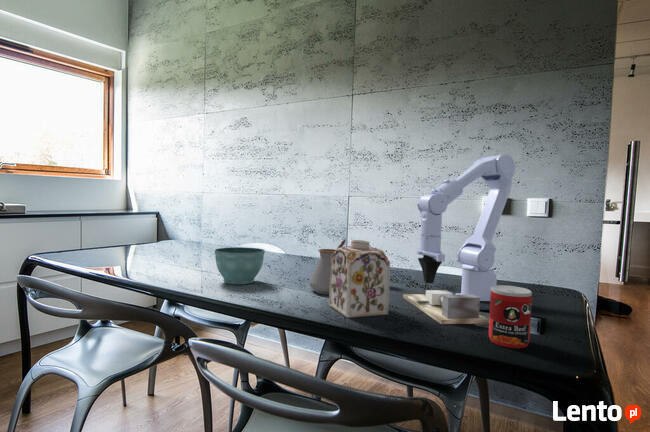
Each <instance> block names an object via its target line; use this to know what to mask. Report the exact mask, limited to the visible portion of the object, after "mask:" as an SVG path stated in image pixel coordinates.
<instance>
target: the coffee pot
mask: <svg viewBox="0 0 650 432" xmlns="http://www.w3.org/2000/svg"><path fill="white" fill-rule="evenodd" d="M346 242H347V244H345V243H346ZM345 245H346V246H347V245H348V246H349V242H348V240H346V239H343V240H342V241H341V242H340V244H339V245H338V246H337V248H336V249H335V248H334V249H333V248H331V249H330V248H321V249H318V250H317V251H318V252H319V255H320V257H319V258H318V261H317V263H316V265H315V268H314V270H313V271H312V272H313V273H311V274H312V275H311V276H310V279H309V280H308V281H309V282H308V283H309V286H310V288H311V289H312V290H314V292H315V293H317V294H320V295H329V294H330V271H331V257H332V255H333V253H335V251H336V250H337V249H338V248H340V247H344V246H345Z"/></svg>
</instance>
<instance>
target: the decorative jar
mask: <svg viewBox="0 0 650 432" xmlns="http://www.w3.org/2000/svg"><path fill="white" fill-rule="evenodd" d="M337 248H338V247H337ZM337 248H336V249H335V250H336V251H335V253H333V255H332V257H331V271H330V294H328V295H329V299H328V300H329V301H328V302H329V303H328V305H329V306H330V307H331V308H333V309H334V310H335V311H336V312H338V313H340V314H341V315H343V316H344V317H345V318H349V319H350V318H351V319H352V318H362V317H372V316H384V315H386V316H387V315H389V307H390V306H389V302H390V281H391V280H390V278H391V273H390V272H391V262H390V260H389V258H388V256H386V255H387V254H386V253H385V252H384V250H383V249H380V248H376V247H372V246H370V241H368V240H362V239H361V240H359V239H352V240H351V242H350V246H349V245H348V246H347V245H344V246H342V247H340V248H338V249H337Z"/></svg>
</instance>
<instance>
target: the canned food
mask: <svg viewBox="0 0 650 432" xmlns="http://www.w3.org/2000/svg"><path fill="white" fill-rule="evenodd" d="M532 303H533V292H532V290H530V289H528V288H525V287H520V286H515V285H505V284H503V285H501V284H498V285H497V286H492V287H491V295H490V301H489V315H488V316H489V317H488V319H489V323H488V338H489V341H490V342H491V343H493V344H494V345H497V346H501V347H504V348H507V349H525V348H527V347H528V346H529V344H530V340H531V339H530V335H531V321H532V319H531V318H532V305H533V304H532Z"/></svg>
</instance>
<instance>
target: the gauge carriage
mask: <svg viewBox="0 0 650 432" xmlns="http://www.w3.org/2000/svg"><path fill="white" fill-rule="evenodd" d="M425 294H426V298H425V301H417V303H429V304H431V305H442V300H443V295H454V293H453V292H452V291H449V290H445V289H443V290H441V289H440V290H437V289H436V290H435V289H430V290H429V289H428V290H427V289H426V290H425Z"/></svg>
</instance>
